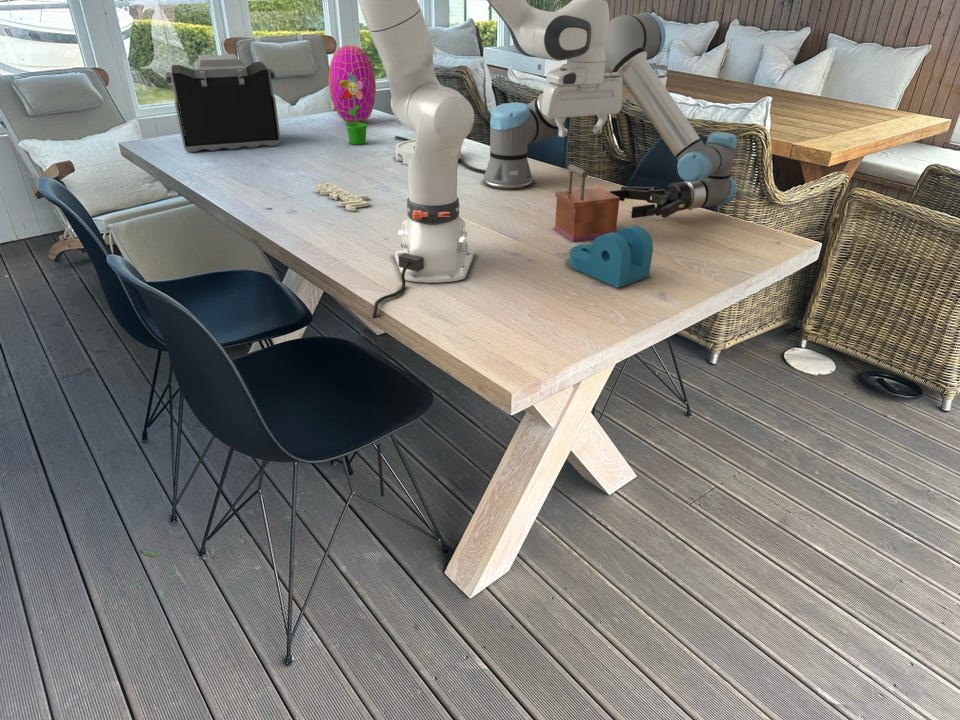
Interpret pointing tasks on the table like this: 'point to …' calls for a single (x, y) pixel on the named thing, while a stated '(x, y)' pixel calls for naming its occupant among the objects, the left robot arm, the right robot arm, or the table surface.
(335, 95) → the decorative egg
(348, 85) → the potted flower
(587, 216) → the chest
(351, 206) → the decorative sign
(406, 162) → the ashtray
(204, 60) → the electronic device
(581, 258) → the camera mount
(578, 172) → the lid
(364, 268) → the table surface
